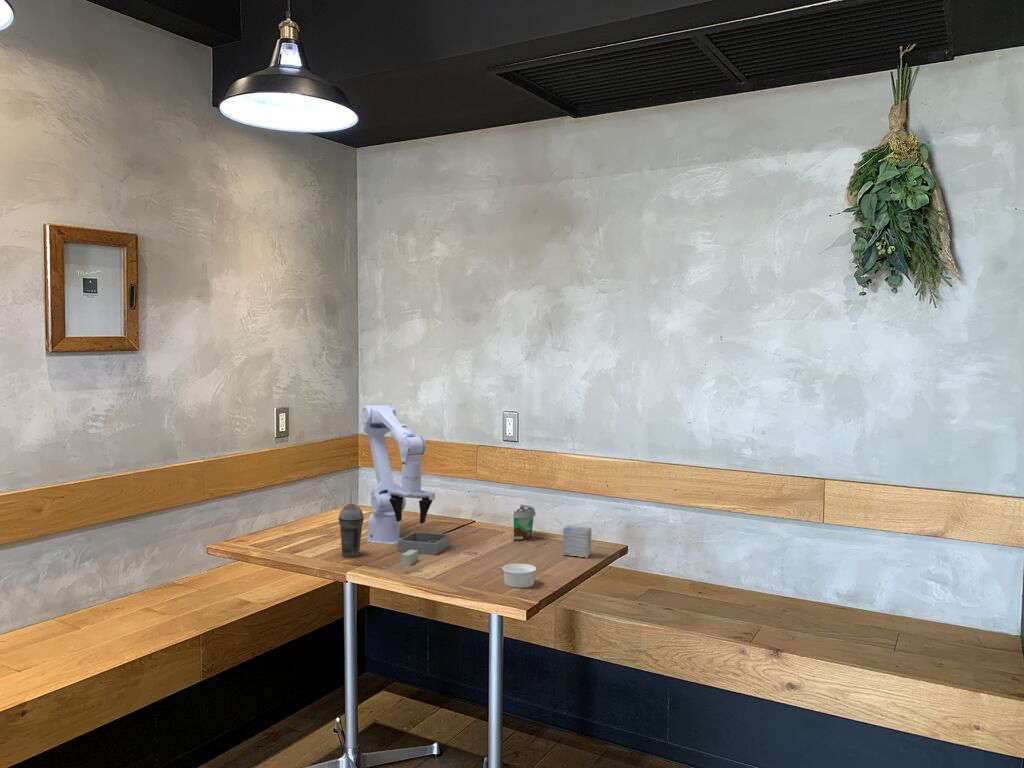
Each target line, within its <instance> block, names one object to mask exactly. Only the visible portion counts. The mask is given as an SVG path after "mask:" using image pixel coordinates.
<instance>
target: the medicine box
mask: <svg viewBox="0 0 1024 768" xmlns="http://www.w3.org/2000/svg"><path fill="white" fill-rule="evenodd" d="M562 529H563V530H562V556H563V555H573V556H583V557H588V556H589V555H590V554H591V555H592V527H591V526H581V525H580V526H579V525H569V524H568V525H565V526H564V527H563V528H562ZM591 555H590V556H591ZM590 556H589V557H590Z"/></svg>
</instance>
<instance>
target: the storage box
mask: <svg viewBox="0 0 1024 768" xmlns="http://www.w3.org/2000/svg"><path fill="white" fill-rule="evenodd" d="M401 538H402V539H400V540H398V542H397V544H398V545H397V546H398V547H397V552H398V553H405V552H407V551H408V550H418V555H426V556H428V555H429V556H437V555H439V554H440V553H441V552H444V550H446V549H448V548H450V546H451V535H450V534H445V533H433V532H426V531H425V532H422V531H413V532H411V533H409V534H408V535H405V536H402V537H401ZM428 540H438V542H436V543H428Z"/></svg>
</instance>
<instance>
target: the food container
mask: <svg viewBox="0 0 1024 768" xmlns="http://www.w3.org/2000/svg"><path fill="white" fill-rule="evenodd" d="M519 505H520V507H519V508H518V509H517V510H514V511H513V515H512V516H513V517H512V518H513V542H517V541H518V542H525V541H524V540H528V541H530V540H529V539H531V538H533V537H532V535H533V527H534V526H533V525H534V517H535V516H537V515H536V510H535V507H534V506H531V505H527V504H519ZM531 540H532V539H531Z"/></svg>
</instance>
